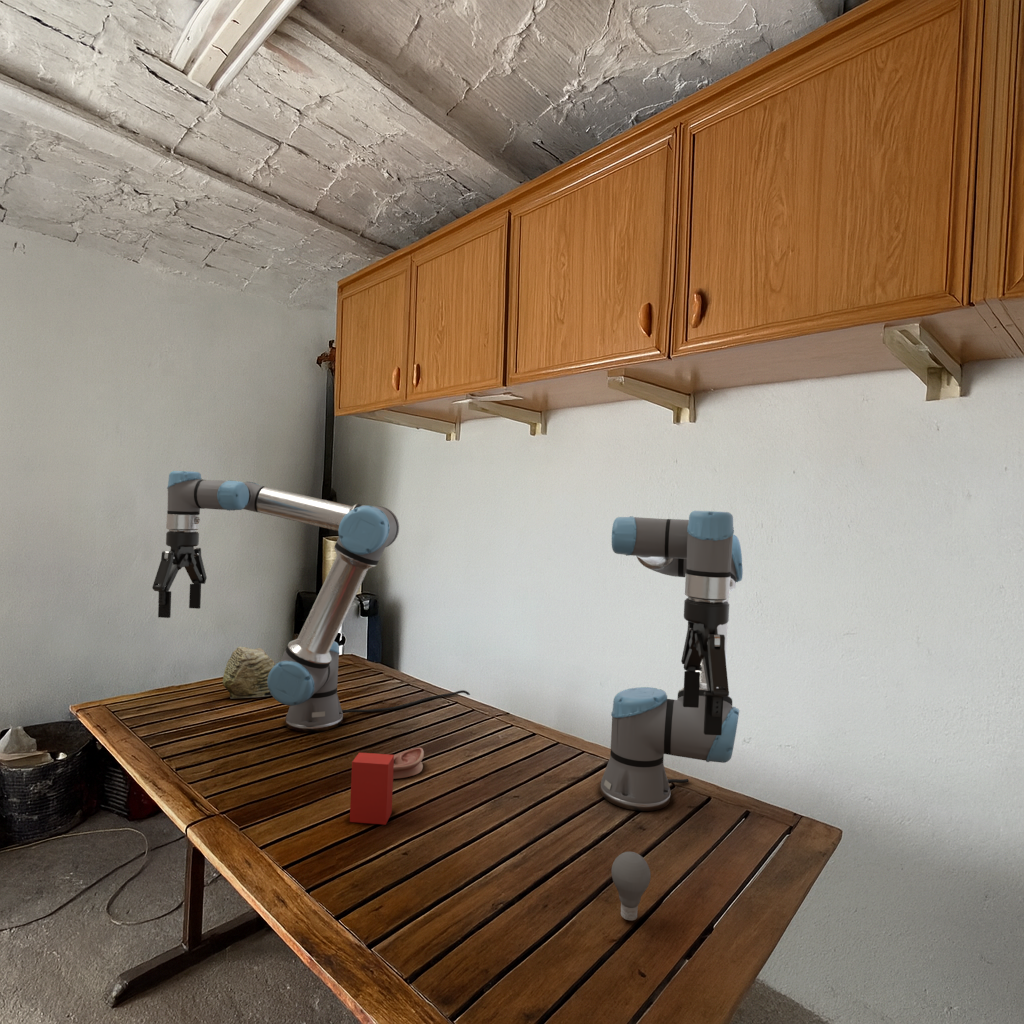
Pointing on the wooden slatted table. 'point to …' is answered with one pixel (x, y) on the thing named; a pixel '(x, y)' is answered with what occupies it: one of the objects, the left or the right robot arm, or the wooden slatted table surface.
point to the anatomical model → (408, 763)
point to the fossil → (248, 673)
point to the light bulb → (630, 881)
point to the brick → (371, 788)
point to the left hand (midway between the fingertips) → (180, 612)
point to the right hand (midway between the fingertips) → (700, 719)
